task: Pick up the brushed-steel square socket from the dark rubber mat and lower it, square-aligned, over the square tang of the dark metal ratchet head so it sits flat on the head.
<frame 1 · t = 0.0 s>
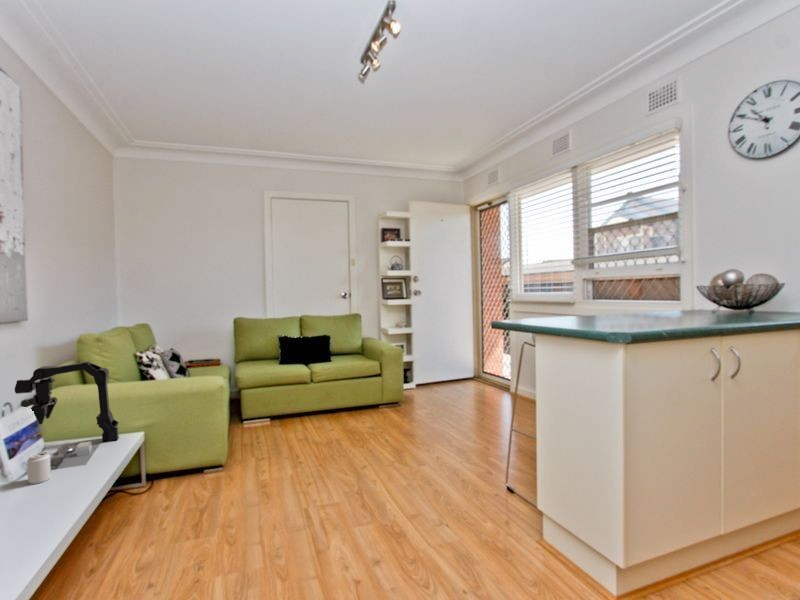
hand: (44, 421, 212), 15 cm above the table, tool pointing down, fingers open, 9 cm apart
can: (39, 481, 179), on the table
ratchet: (66, 452, 208), resting on mat
socket: (84, 453, 206), resting on mat
mat: (71, 457, 203), on the table
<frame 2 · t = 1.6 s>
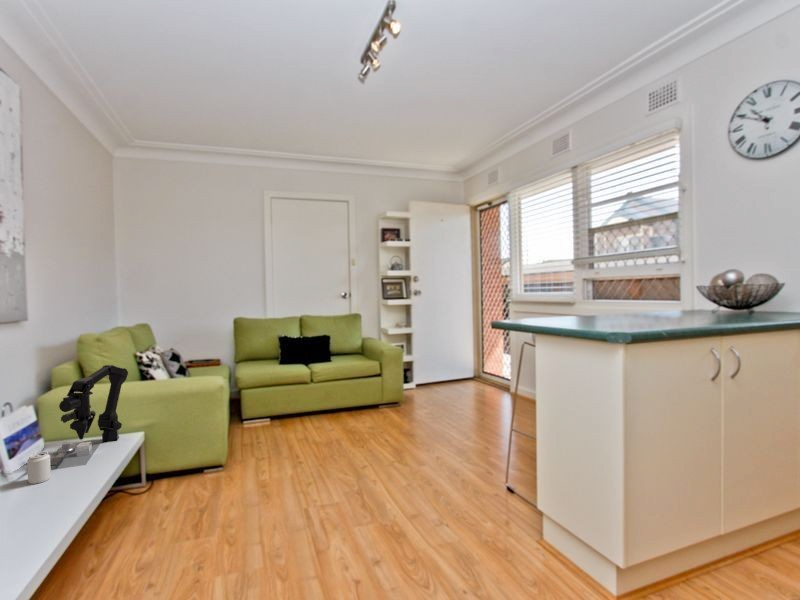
hand: (84, 436, 206), 9 cm above the table, tool pointing down, fingers open, 9 cm apart
nothing on the table moved.
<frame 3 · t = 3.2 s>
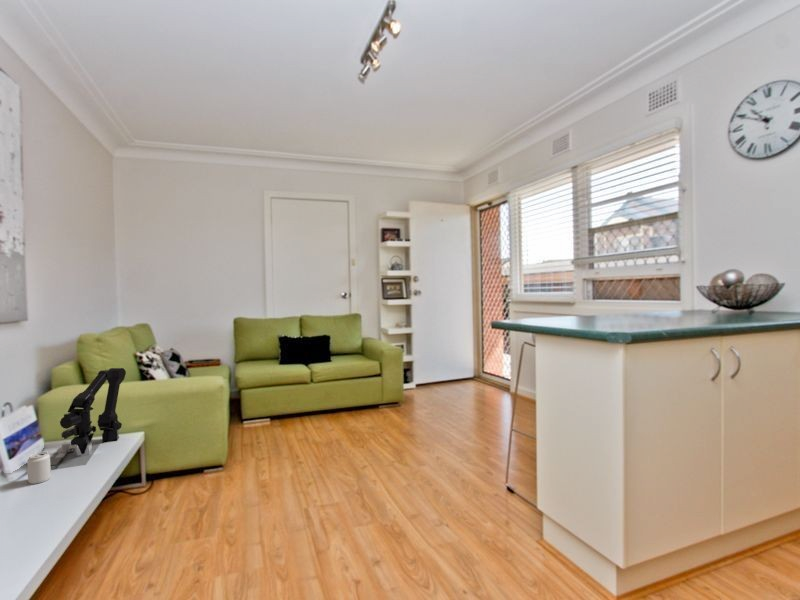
hand: (84, 451, 206), 1 cm above the table, tool pointing down, fingers closed on socket, 5 cm apart
socket: (84, 453, 206), resting on mat, touching gripper
everything else where it was.
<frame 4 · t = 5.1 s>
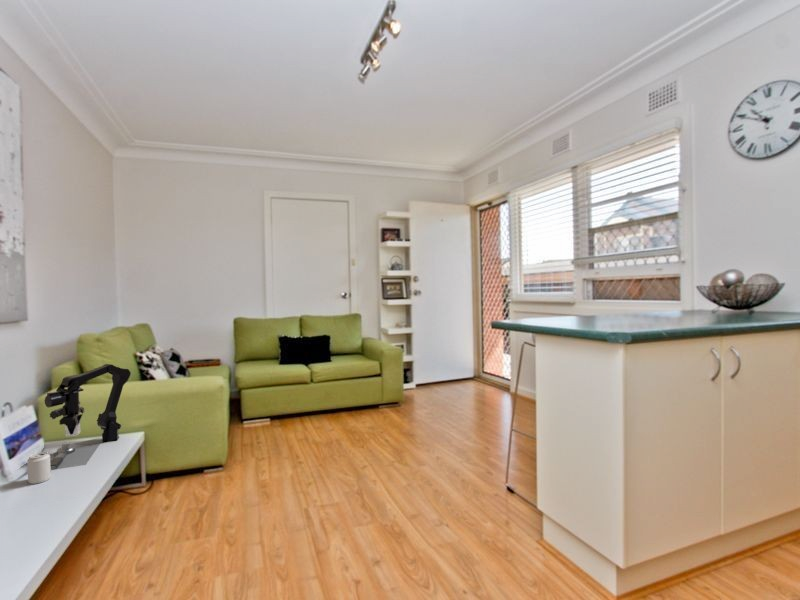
hand: (73, 432, 207), 11 cm above the table, tool pointing down, fingers closed on socket, 5 cm apart
socket: (73, 434, 207), point 10 cm above the table, touching gripper
everything else where it was.
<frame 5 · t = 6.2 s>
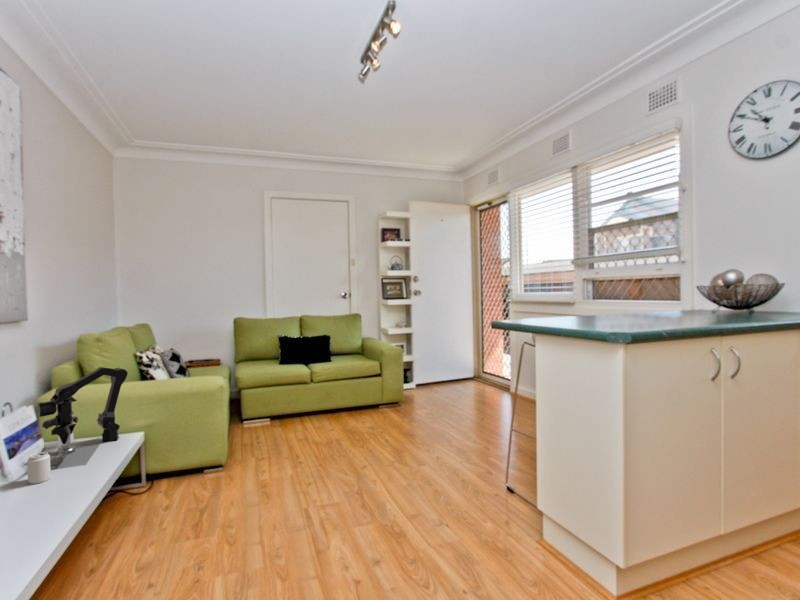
hand: (66, 441, 208), 6 cm above the table, tool pointing down, fingers closed on socket, 5 cm apart
socket: (66, 443, 208), point 5 cm above the table, touching gripper
everything else where it was.
when the fingers open (4 cm above the table, at t = 6.9 s): socket stays where it is, resting on ratchet.
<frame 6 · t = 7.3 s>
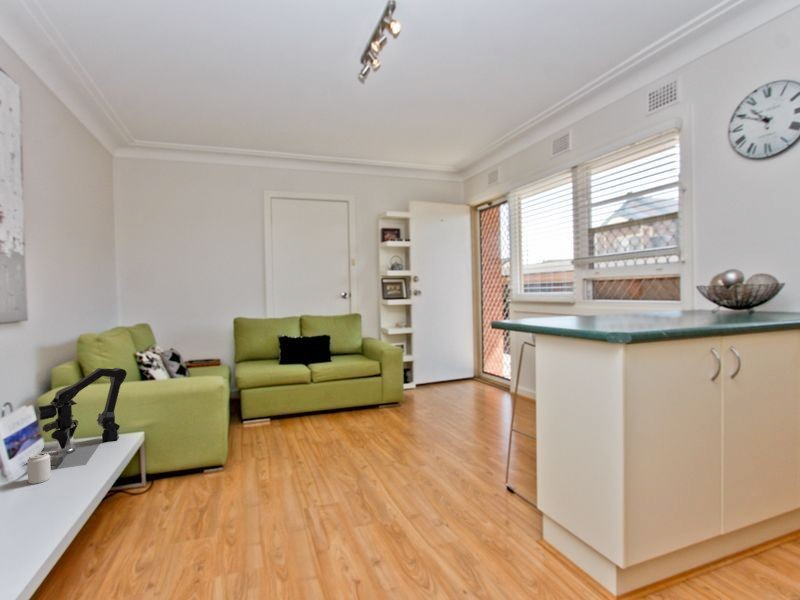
hand: (66, 445, 208), 4 cm above the table, tool pointing down, fingers open, 9 cm apart
socket: (66, 448, 208), point 2 cm above the table, touching ratchet
everything else where it was.
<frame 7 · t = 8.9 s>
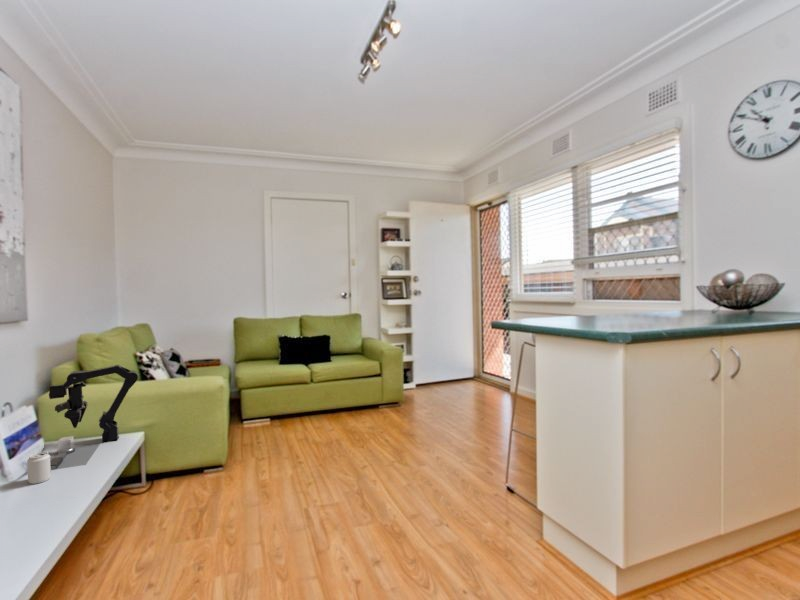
hand: (77, 424, 216), 11 cm above the table, tool pointing down, fingers open, 9 cm apart
nothing on the table moved.
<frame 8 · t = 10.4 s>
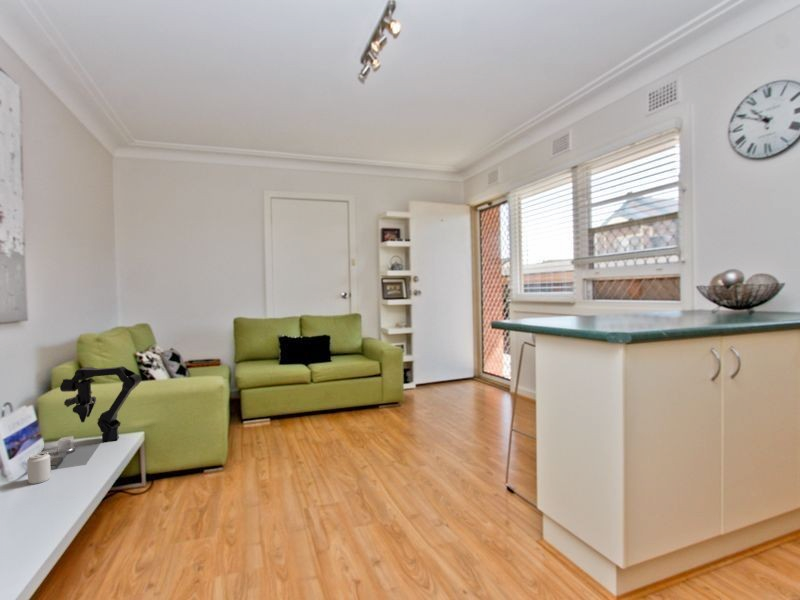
hand: (85, 419, 222), 12 cm above the table, tool pointing down, fingers open, 9 cm apart
nothing on the table moved.
at the end: socket 0.0 cm off-centre on the ratchet, point 2.0 cm above the ratchet's base; socket tilted 0°; the gripper is holding nothing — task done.
